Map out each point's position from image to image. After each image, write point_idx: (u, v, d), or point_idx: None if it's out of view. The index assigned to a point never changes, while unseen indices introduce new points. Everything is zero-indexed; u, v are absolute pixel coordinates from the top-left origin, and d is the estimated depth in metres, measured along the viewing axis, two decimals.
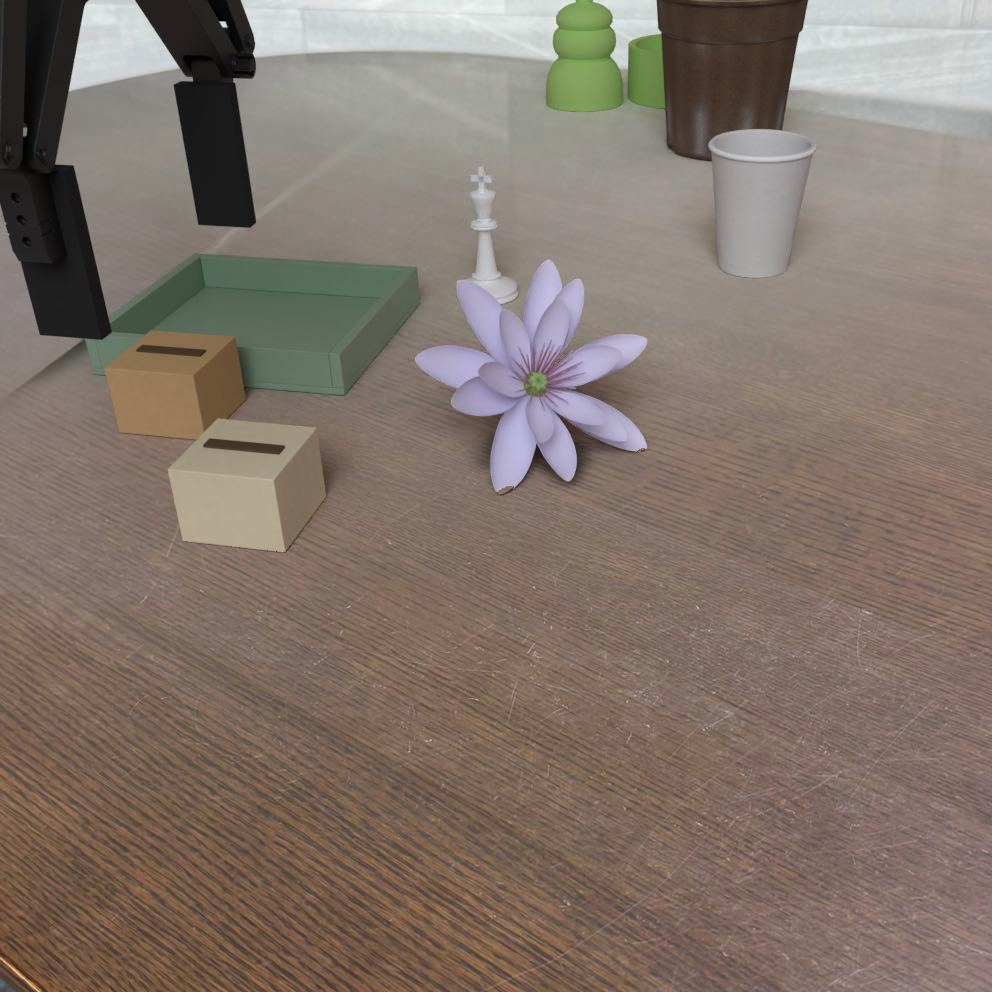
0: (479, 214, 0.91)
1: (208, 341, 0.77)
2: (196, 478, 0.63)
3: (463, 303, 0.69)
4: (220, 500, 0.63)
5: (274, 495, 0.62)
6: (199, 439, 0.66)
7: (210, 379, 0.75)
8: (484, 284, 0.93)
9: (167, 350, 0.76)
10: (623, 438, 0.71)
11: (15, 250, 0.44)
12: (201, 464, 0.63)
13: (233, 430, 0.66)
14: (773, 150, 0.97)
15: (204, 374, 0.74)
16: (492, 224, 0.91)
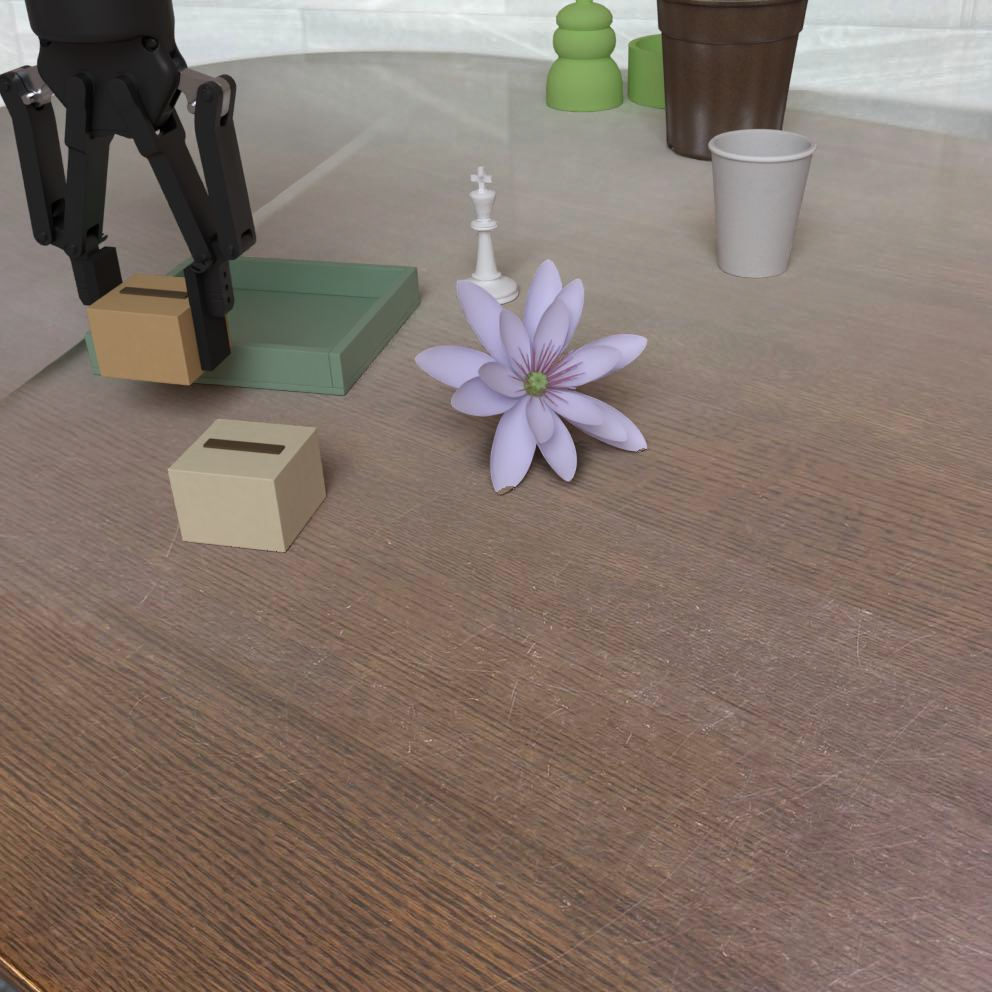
0: (479, 215, 0.91)
1: None
2: (196, 478, 0.63)
3: (463, 303, 0.69)
4: (220, 500, 0.63)
5: (274, 495, 0.62)
6: (199, 439, 0.66)
7: None
8: (484, 284, 0.93)
9: (151, 292, 0.74)
10: (623, 438, 0.71)
11: (225, 309, 0.73)
12: (201, 464, 0.63)
13: (233, 430, 0.66)
14: (773, 150, 0.97)
15: (189, 317, 0.72)
16: (492, 224, 0.91)
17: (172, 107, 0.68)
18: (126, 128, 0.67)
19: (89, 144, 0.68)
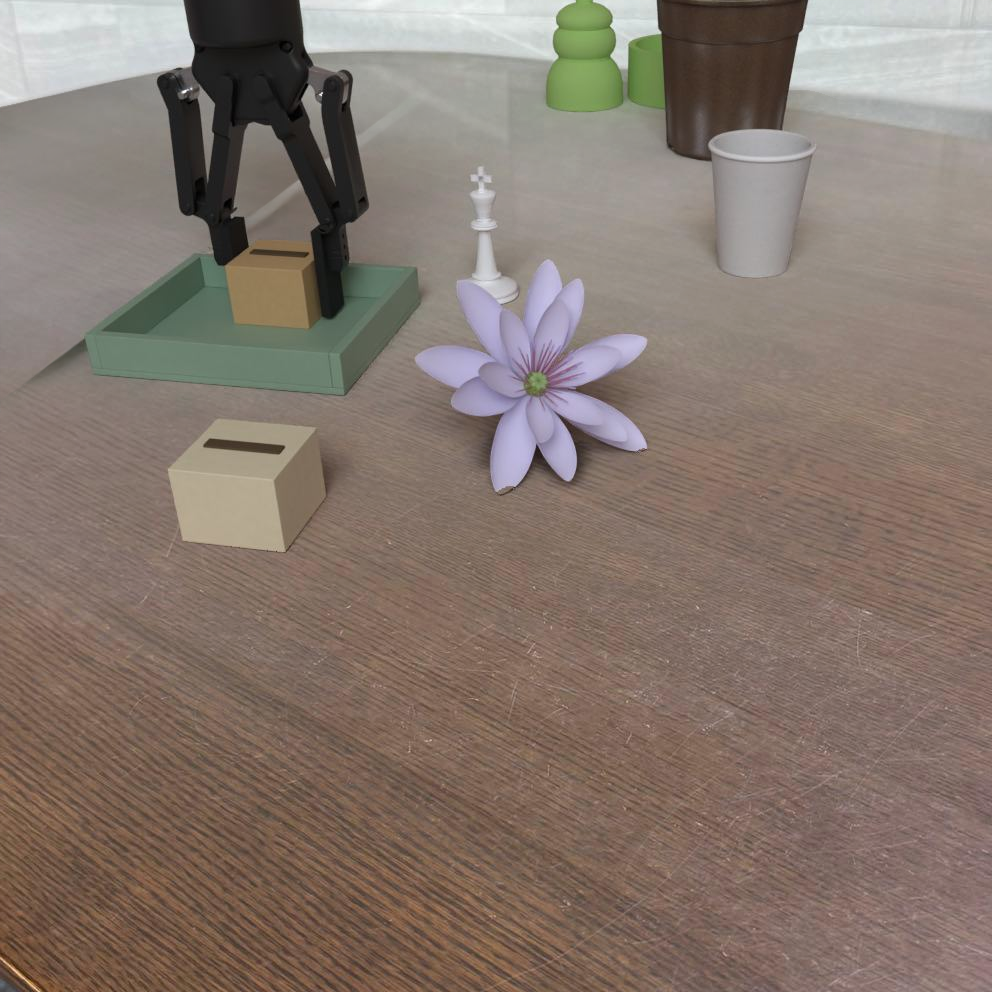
0: (479, 214, 0.91)
1: (309, 246, 0.90)
2: (196, 478, 0.63)
3: (463, 303, 0.69)
4: (220, 500, 0.63)
5: (274, 495, 0.62)
6: (199, 439, 0.66)
7: (313, 276, 0.88)
8: (484, 284, 0.93)
9: (276, 253, 0.89)
10: (623, 438, 0.71)
11: (343, 264, 0.88)
12: (201, 464, 0.63)
13: (233, 430, 0.66)
14: (773, 150, 0.97)
15: (309, 271, 0.87)
16: (492, 224, 0.91)
17: (300, 99, 0.83)
18: (264, 117, 0.83)
19: (231, 130, 0.84)
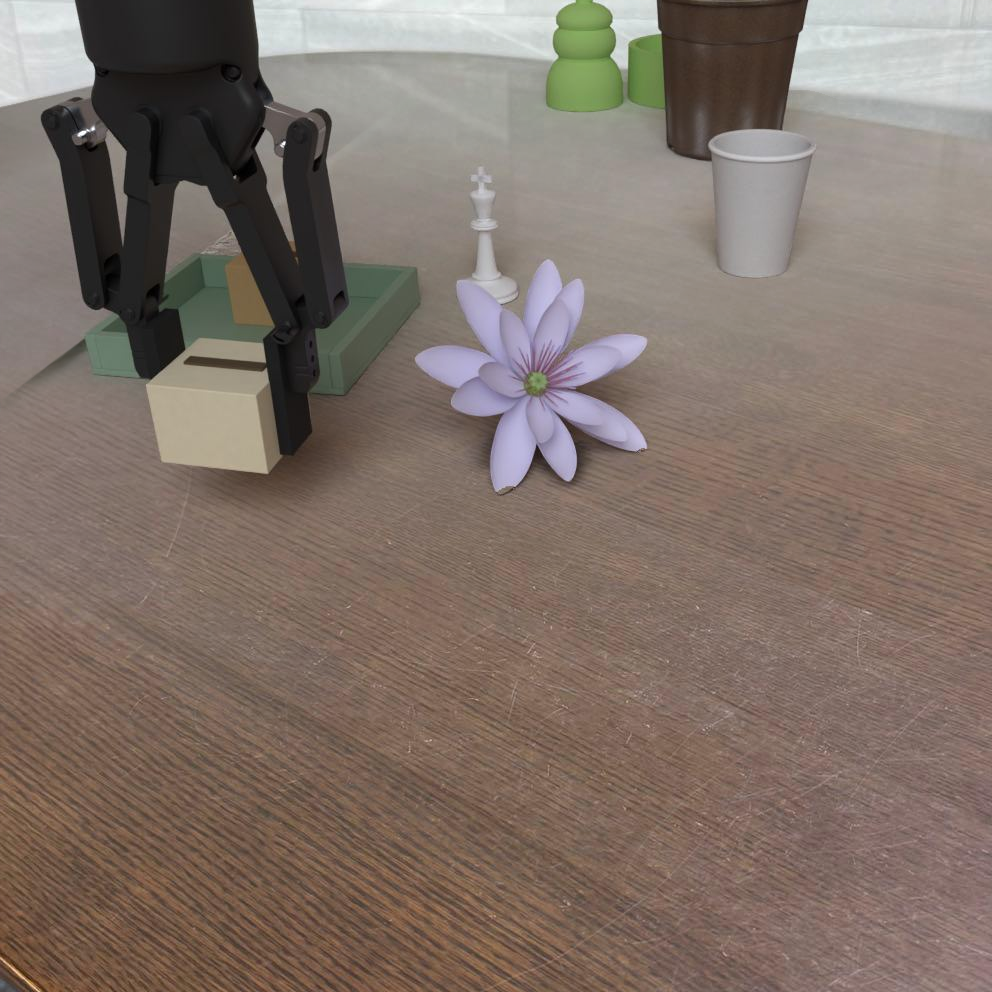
0: (479, 214, 0.91)
1: None
2: (176, 394, 0.60)
3: (463, 303, 0.69)
4: (200, 418, 0.61)
5: (256, 412, 0.60)
6: (179, 357, 0.63)
7: None
8: (484, 284, 0.93)
9: None
10: (623, 438, 0.71)
11: (310, 384, 0.61)
12: (181, 379, 0.61)
13: (215, 348, 0.64)
14: (773, 150, 0.97)
15: None
16: (492, 224, 0.91)
17: (253, 148, 0.56)
18: (198, 173, 0.56)
19: (152, 192, 0.57)
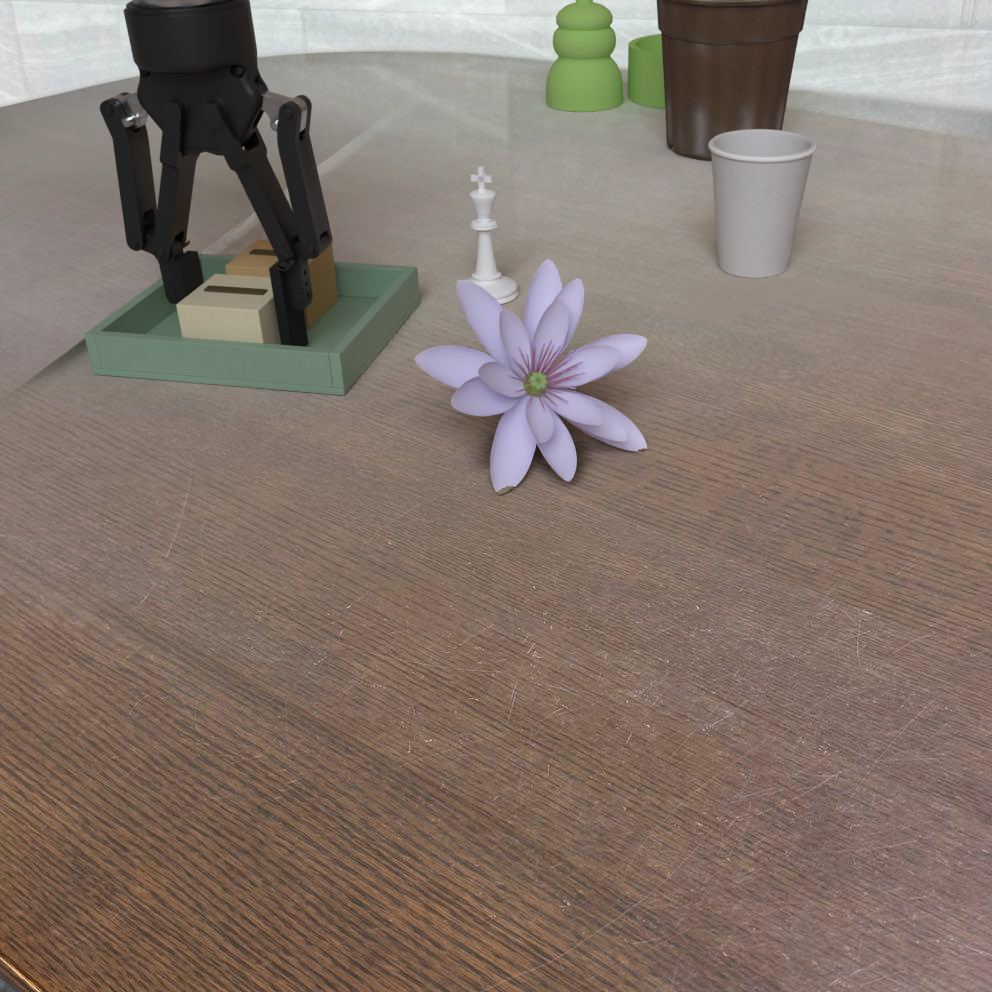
0: (479, 214, 0.91)
1: None
2: (198, 311, 0.81)
3: (463, 303, 0.69)
4: (217, 329, 0.81)
5: (258, 323, 0.80)
6: (200, 286, 0.84)
7: (313, 276, 0.88)
8: (484, 284, 0.93)
9: None
10: (623, 438, 0.71)
11: (305, 303, 0.82)
12: (202, 301, 0.81)
13: (227, 280, 0.85)
14: (773, 150, 0.97)
15: (309, 271, 0.87)
16: (492, 224, 0.91)
17: (255, 127, 0.77)
18: (215, 146, 0.76)
19: (180, 161, 0.77)
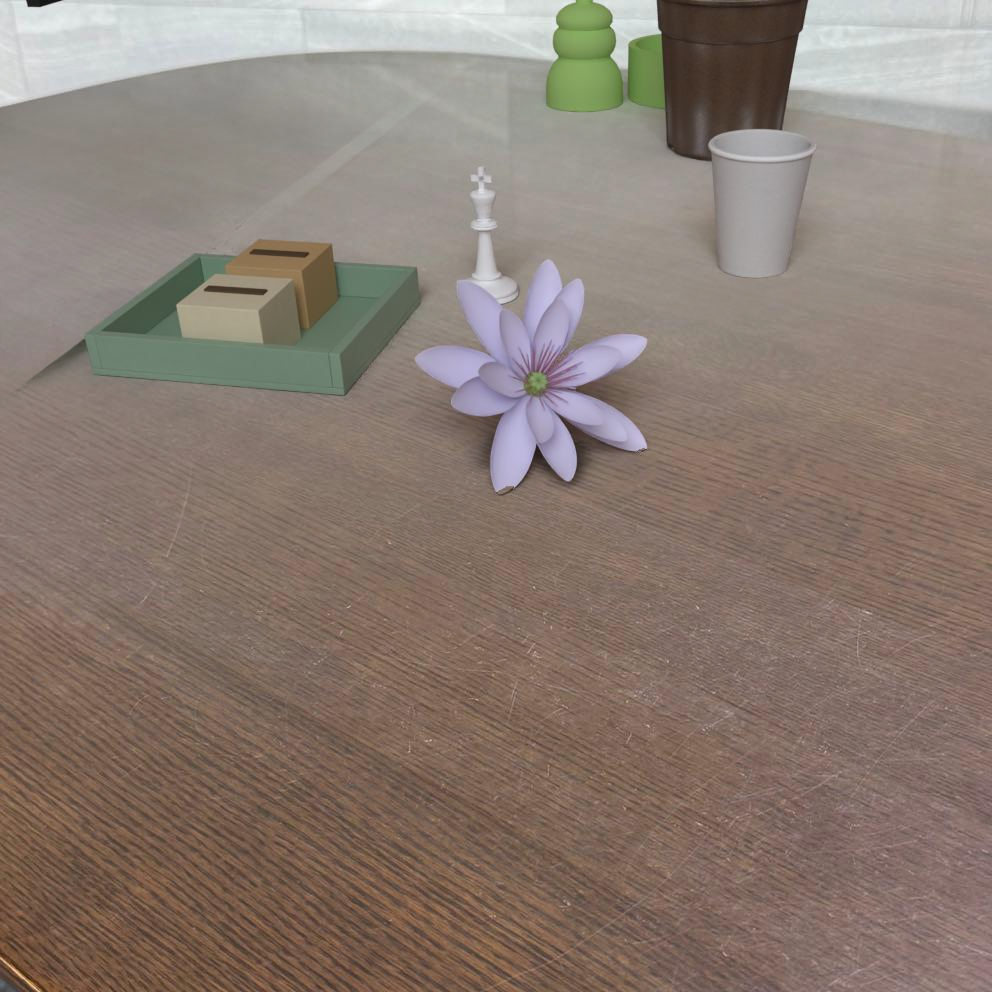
0: (479, 214, 0.91)
1: (309, 246, 0.90)
2: (198, 311, 0.81)
3: (463, 303, 0.69)
4: (217, 329, 0.81)
5: (258, 323, 0.80)
6: (200, 286, 0.84)
7: (313, 276, 0.88)
8: (484, 284, 0.93)
9: (276, 253, 0.89)
10: (623, 438, 0.71)
11: None
12: (202, 301, 0.81)
13: (227, 280, 0.85)
14: (773, 150, 0.97)
15: (309, 271, 0.87)
16: (492, 224, 0.91)
17: None
18: None
19: None
